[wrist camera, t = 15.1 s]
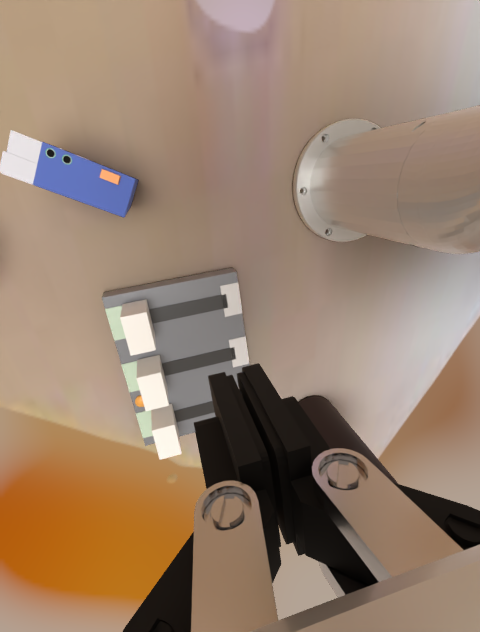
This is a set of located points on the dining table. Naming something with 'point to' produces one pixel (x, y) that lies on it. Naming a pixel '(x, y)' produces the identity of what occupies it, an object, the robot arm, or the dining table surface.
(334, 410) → the bottle
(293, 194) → the robot arm
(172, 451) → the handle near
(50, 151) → the walkman
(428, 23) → the dining table surface
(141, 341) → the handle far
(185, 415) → the breaker panel
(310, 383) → the dining table surface
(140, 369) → the handle
